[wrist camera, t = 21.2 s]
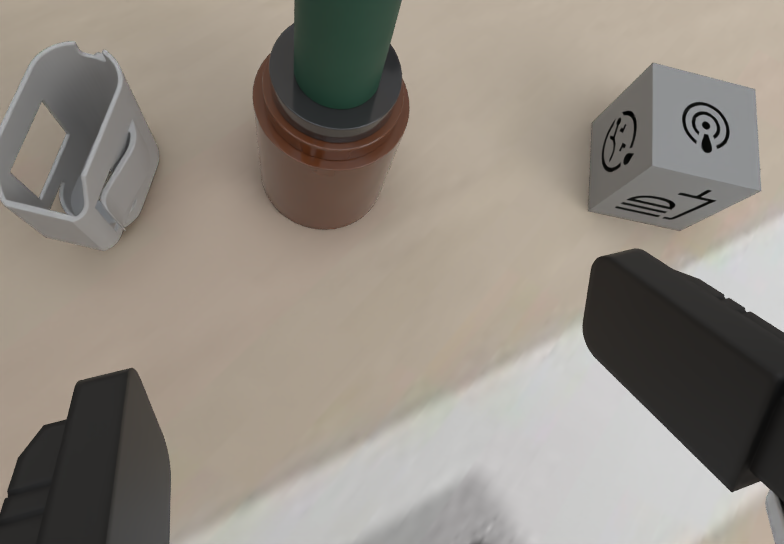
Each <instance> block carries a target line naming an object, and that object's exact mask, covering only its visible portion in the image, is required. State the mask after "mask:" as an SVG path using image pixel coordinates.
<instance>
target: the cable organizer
mask: <svg viewBox="0 0 784 544" xmlns="http://www.w3.org/2000/svg"><path fill="white" fill-rule="evenodd" d="M41 102H43V103H44V105H45V106H46V107H47V109H48V110H49V111H50V113H51V114H52V115H53V116H54V118H55V119H56V120H57V122H58V123H59V124H60V126H61V127H62V128H63V129H64V131H65V132H66V136H65V138H64V140H63V143H62V145H61V147H60V150H59V152H58V154H57V157H56V159H55V161H54V164H53V166H52V168H51V171H50V173H49V175H48V178H47V180H46V182H45V185H44V187H43V189H42V192H41V194H40V196H39V198H38V197H37V196H36V195H35V194H34V193H33V192H31V191H30V190H29V189H28V188H27V187H26V186H25V185H24V184H23V183H21V182H20V181H19V180H18V179H17V178H16V177H15V176H14V175H13V174H11V173H10V170H11V168H12V166H13V164H14V161H15V159H16V157H17V155H18V153H19V150H20V148H21V146H22V144H23V142H24V139H25V137H26V135H27V133H28V131H29V128H30V126H31V124H32V122H33V120H34V117H35V115H36V113H37V111H38V109H39V106H40V104H41ZM158 163H159V149H158V146H157V144H156V142H155V140H154V137H153V135H152V133H151V131H150V129H149V127H148V125H147V123H146V121H145V118H144V116H143V114H142V112H141V110H140V108H139V106H138V104H137V101H136V99H135V97H134V95H133V93H132V91H131V89H130V87H129V84H128V82H127V80H126V78H125V76H124V74H123V72H122V70H121V67H120V65H119V64H118V62H117V61H116V59H115V58H114V57H113V56H112V55H111V54H110V53H109V52H107V51H106V50H103V51H102V53H99V52H98V53H96V54H95V55H92V54H88V53H84V52H82V51H81V50H80V49H79V48H78V46H77V44H76V42H75V41H67V42H62V43H58V44H55V45H52V46H50V47H48V48H46V49H44V50H43V51H41V52H40V53H39V54H37V55H36V56H35V57H34V58H33V60H32V61H31V62H30V64H29V66H28V68H27V70H26V72H25V74H24V76H23V79H22V81H21V83H20V85H19V87H18V89H17V91H16V93H15V95H14V98H13V100H12V102H11V104H10V106H9V108H8V110H7V112H6V114H5V117H4V119H3V121H2V123H1V125H0V200H1V202H2V203H3V205H4V206H5V207H7V208H8V209H9V210H11V211H12V212H13V213H14V214H16V215H17V216H18V217H20V218H21V219H22V220H24V221H25V222H26V223H28V224H29V225H30V226H31V227H33V228H34V229H35V230H37V231H38V232H39V233H41V234H42V235H43V236H45V237H46V238H51V239H55V240H59V241H63V242H68V243H72V244H76V245H80V246H85V247H89V248H93V249H97V250H102V251H105V250H107V249H110V248H111V247H113V246H114V245H115V244H116V243H117V242H118V241H119V239H120V237H121V235H122V232H123V230H124V231H126V230H125V227H126V226H128V225H129V224H131V223H132V222H133V221H134V220H135V219H136V218H137V217H138V215H139V213H140V212H141V210H142V207H143V204H144V202H145V199H146V196H147V193H148V191H149V188H150V185H151V182H152V180H153V177H154V174H155V171H156V169H157V166H158ZM110 170H111V172H112V175H111V177H110V178H109V180H108V181H107V183H106V185H105V186H104V183H105V181H106V178H107V176H108V173H109V171H110ZM60 184H61V185H60ZM103 186H104V188H103ZM59 187H60V189H59ZM102 188H103V190H102ZM58 189H59V199H60V203H61V206H62V208H63V209H64V211H65V212H66V213H67V214H64V213H60V212H56V211H52V210H50V208H51V206H52V203H53V201H54V199H55V196H56V194H57V191H58ZM101 191H102V192H101ZM100 194H101V195H100ZM99 196H100V200H101V201H100V200H98V199H99Z"/></svg>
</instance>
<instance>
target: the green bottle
mask: <svg viewBox="0 0 784 544" xmlns="http://www.w3.org/2000/svg"><path fill="white" fill-rule="evenodd" d="M401 1H402V0H295V9H294V75H295V79H296V81H297V83H298V85H299V87H300V88H301V90H302V91H303V92H304V93H305V94H306V95H307V96H308V97H309V98H310V99H311V100H313V101H314V102H316V103H318V104H320V105H322V106H325V107H328V108H333V109H350V108H354V107H357V106H360V105H362V104H363V103H365V102H367V101H368V100H369V99H370V98H371V97H372V96H373V95H374V94H375V92H376V91H377V89H378V86H379V83H380V80H381V76H382V72H383V68H384V65H385V61H386V57H387V53H388V50H389V46H390V42H391V39H392V35H393V31H394V27H395V24H396V20H397V16H398V12H399V9H400V5H401Z"/></svg>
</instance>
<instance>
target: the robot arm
mask: <svg viewBox="0 0 784 544" xmlns="http://www.w3.org/2000/svg"><path fill="white" fill-rule="evenodd" d="M583 335H584V339H585V342H586V345H587V347H588V349H589V350H590V352H591V353H592V355H593V356H594V357H595V358H596V359H597V360H598V361H599V362H600V363H601V364H602V365H603V366H604V367H605V368H606V369H607V370H608V371H609V372H610V373H611V374H612V375H613V376H614V377H615V378H616V379H617V380H618V381H619V382H620V383H621V384H622V385H623V386H624V387H625V388H626V389H627V390H628V391H629V392H630V393H631V394H632V395H633V396H634V397H635V398H636V399H638V400H639V401H640V402H641V403H642V404H643V405H644V406H645V407H646V408H647V409H648V410H649V411H650V412H651V413H652V414H653V415H654V416H655V417H656V418H657V419H658V420H659V421H660V422H661V423H662V424H663V425H664V426H665V427H666V428H667V429H668V430H669V431H670V432H671V433H672V434H673V435H674V436H675V437H676V438H677V439H678V440H679V441H680V442H681V443H682V444H683V445H684V446H685V447H686V448H687V449H688V450H689V451H690V452H691V453H692V454H693V455H694V456H695V457H696V458H697V459H698V460H699V461H700V462H701V463H702V464H703V465H704V466H705V467H707V468H708V469H709V470H710V471H711V472H712V473H713V474H714V475H715V476H716V477H717V478H718V479H719V480H720V481H721V482H722V483H723V484H724V485H725V486H726V487H727V488H728V489H729V490H730V491H731V492H734V491H736V490H739V489H741V488H744V487H747V486H749V485H752V484H754V483H757V482H759V481H761V482H763V483H764V484H765V485H766V486H767V487H768V488H769V489H770V490H769V492H768V494H767V497H766V502H765V504H766V510H767V514H768V518H769V522H770V526H771V530H772V534H773V537H774V541H775V544H784V332H782V331H780V330H779V329H777V328H776V327H774V326H773V325H771V324H769V323H768V322H766V321H765V320H763V319H762V318H760V317H758V316H757V315H755V314H754V313H752V312H746V311H745V308H744V307H743V306H741V305H739V304H738V303H736V302H735V301H733V300H732V299H730V298H728V299H725V297H724V294H722V293H721V292H719V291H717V290H716V289H714V288H713V287H711V286H710V285H708V284H706V283H705V282H703V281H702V280H700V279H698V278H695V277H692V276H690V275H687V274H684V273H682V272H679V271H676V270H673V269H672V268H670V267H669V266H667V265H666V264H664V263H662V262H661V261H659V260H658V259H656V258H655V257H653V256H652V255H650V254H649V253H647V252H646V251H644V250H641V249H631V250H626V251H622V252H618V253H614V254H610V255H606V256H601V257H599V258H597V259H596V260H595V261H594V263H593V265H592V268H591V273H590V279H589V286H588V292H587V299H586V305H585V312H584V318H583ZM7 492H8V498H5V500H4V503H3V506H2V509H1V512H0V544H169V539H170V495H171V470H170V461H169V455H168V450H167V446H166V442H165V439H164V436H163V434H162V431H161V429H160V426H159V424H158V421H157V419H156V416H155V414H154V411H153V409H152V406H151V404H150V401H149V399H148V396H147V394H146V391H145V389H144V386H143V384H142V381H141V379H140V377H139V375H138V373H137V371H136V370H135V369H134V368H129V369H125V370H121V371H117V372H113V373H109V374H104V375H100V376H96V377H92V378H88V379H84V380H80V381H78V382H77V383H76V385H75V388H74V392H73V396H72V400H71V404H70V408H69V412H68V416H67V420H63V421H59V422H55V423H51V424H47V425H44V426H43V427H42V428H41V429H40V431H39V432H38V433H37V434H36V436H35V437H34V438H33V440H32V441H31V442H30V443H29V445H28V446H27V447H26V448H25V450H24V451H23V452H22V454H21V455H20V456H19V457H18V460H17V463H16V466H15V469H14V472H13V475H12V478H11V481H10V485H9V488H8V491H7Z"/></svg>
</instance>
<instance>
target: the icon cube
mask: <svg viewBox="0 0 784 544" xmlns="http://www.w3.org/2000/svg"><path fill="white" fill-rule="evenodd" d="M760 191H761V178H760V161H759V144H758V127H757V111H756V94H755V89H753V88H749V87H745V86H741V85H737V84H733V83H729V82H726V81H722V80H718V79H714V78H710V77H706V76H702V75H699V74H695V73H691V72H687V71H683V70H679V69H675V68H672V67H668V66H664V65H660V64H656V63H652V64H651V65H650V66H649V67H648V68H647V69H646V70H645V71H644V72H643V73H642V74H641V75H640V76H639V77H638V78H637V79H636V80H635V81H634V82H633V83H632V84H631V85H630V86H629V87H628V88H627V89H626V90H625V91H624V92H623V93H622V94H621V95H620V96H619V97H618V98H617V99H616V100H615V101H614V102H612V103H611V104H610V105H609V106H608V107H607V108H606V109H605V110H604V111H603V112H602V113H601V114H600V115H599V116H598V117H597V118H596V119H595V120H594V121H593V122H592V133H591V158H590V182H589V207H588V211H591V212H595V213H600V214H605V215H609V216H614V217H619V218H623V219H628V220H632V221H637V222H642V223H646V224H651V225H656V226H660V227H665V228H669V229H674V230H679V231H681V230H683V229H685V228H687V227H689V226H691V225H693V224H695V223H697V222H699V221H701V220H703V219H705V218H707V217H709V216H711V215H713V214H715V213H717V212H719V211H721V210H723V209H725V208H727V207H730V206H732V205H734V204H736V203H738V202H740V201H742V200H744V199H746V198H748V197H750V196H752V195H754V194H756V193H758V192H760Z"/></svg>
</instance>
